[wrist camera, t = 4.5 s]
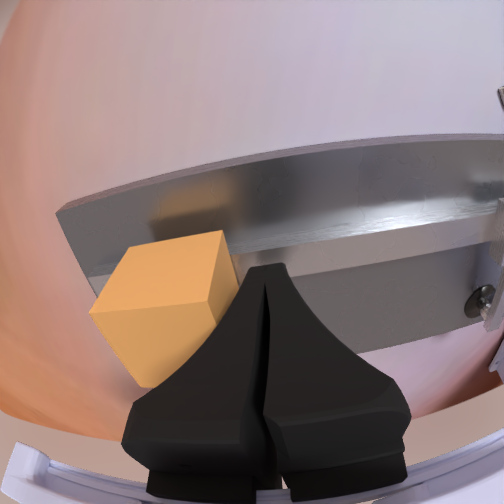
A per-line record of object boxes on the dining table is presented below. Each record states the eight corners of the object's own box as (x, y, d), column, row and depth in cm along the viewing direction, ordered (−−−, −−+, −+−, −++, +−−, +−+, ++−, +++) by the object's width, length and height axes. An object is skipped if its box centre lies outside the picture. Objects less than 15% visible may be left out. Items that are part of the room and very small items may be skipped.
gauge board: (485, 306, 17) (507, 339, 14) (150, 360, 20) (138, 400, 17) (518, 134, 10) (560, 154, 8) (67, 202, 13) (30, 235, 11)
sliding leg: (262, 356, 17) (262, 434, 12) (195, 362, 17) (182, 435, 13) (225, 219, 12) (207, 301, 8) (136, 236, 13) (88, 313, 9)
